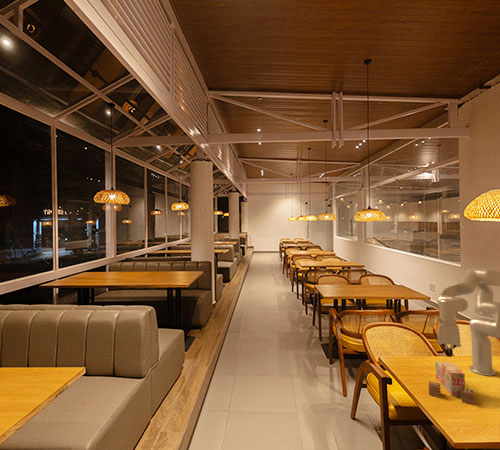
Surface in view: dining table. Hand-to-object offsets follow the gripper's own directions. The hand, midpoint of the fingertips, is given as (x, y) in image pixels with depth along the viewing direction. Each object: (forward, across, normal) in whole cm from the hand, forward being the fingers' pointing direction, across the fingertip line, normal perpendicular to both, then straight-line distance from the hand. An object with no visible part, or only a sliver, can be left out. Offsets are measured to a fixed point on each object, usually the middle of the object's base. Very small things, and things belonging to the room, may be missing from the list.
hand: (449, 356), depth 171 cm
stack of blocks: (+17, 0, 0) cm, 17 cm away
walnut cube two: (+17, +7, -12) cm, 22 cm away
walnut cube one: (+16, -7, -12) cm, 22 cm away
